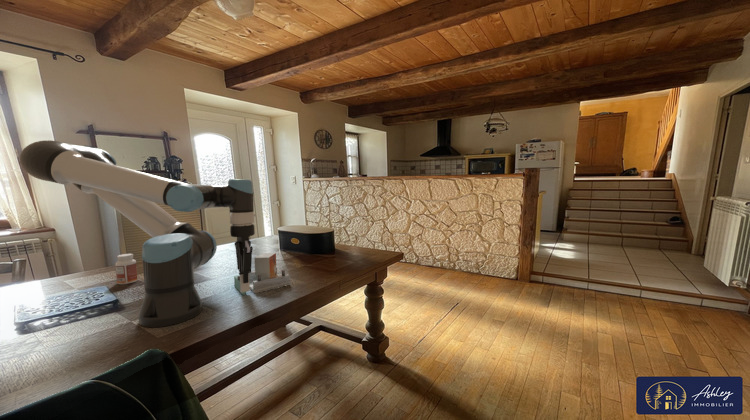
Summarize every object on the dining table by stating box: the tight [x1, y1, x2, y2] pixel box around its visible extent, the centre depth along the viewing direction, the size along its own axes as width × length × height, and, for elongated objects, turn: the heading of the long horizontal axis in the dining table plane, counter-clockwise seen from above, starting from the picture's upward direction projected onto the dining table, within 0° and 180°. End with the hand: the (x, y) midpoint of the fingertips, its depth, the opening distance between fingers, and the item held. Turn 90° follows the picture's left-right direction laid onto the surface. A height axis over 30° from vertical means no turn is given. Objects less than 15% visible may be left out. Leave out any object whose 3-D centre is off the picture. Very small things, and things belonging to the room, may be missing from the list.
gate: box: [233, 275, 247, 296], centre depth 103 cm, size 2×11×5 cm, turn 40°
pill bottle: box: [115, 253, 138, 286], centre depth 111 cm, size 6×6×11 cm
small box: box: [254, 252, 278, 281], centre depth 109 cm, size 8×6×10 cm
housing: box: [249, 267, 291, 294], centre depth 109 cm, size 13×15×6 cm
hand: (245, 291), depth 98 cm, fingers closed
